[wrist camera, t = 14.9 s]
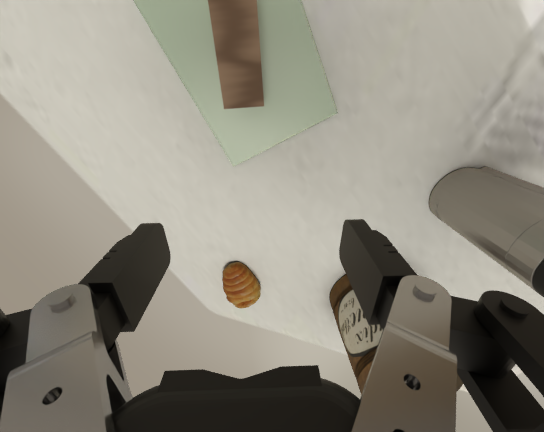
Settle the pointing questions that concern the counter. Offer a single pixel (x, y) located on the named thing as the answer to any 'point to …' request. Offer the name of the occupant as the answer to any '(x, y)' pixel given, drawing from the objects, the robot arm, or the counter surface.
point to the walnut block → (237, 52)
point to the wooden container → (357, 331)
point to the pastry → (240, 285)
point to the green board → (275, 72)
